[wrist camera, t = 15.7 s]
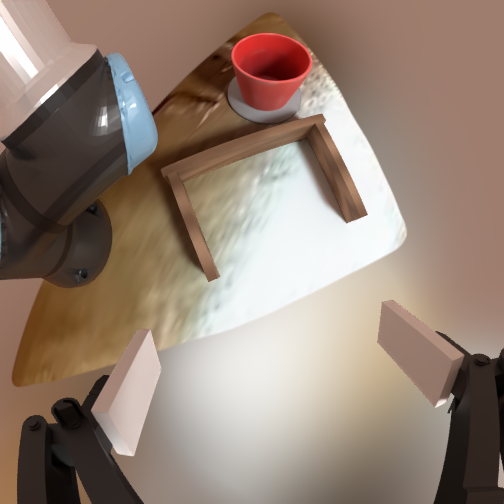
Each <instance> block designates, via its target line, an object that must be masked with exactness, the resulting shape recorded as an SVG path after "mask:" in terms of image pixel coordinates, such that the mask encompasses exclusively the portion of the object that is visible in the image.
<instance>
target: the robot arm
mask: <svg viewBox="0 0 504 504" xmlns="http://www.w3.org/2000/svg"><path fill="white" fill-rule="evenodd" d="M0 141H1V142H2V143H3V144H4V145H5V146H6V149H5V150H4V151H3V152H2V153H1V155H0V280H8V279H28V278H43V279H45V280H47V281H49V282H51V283H53V284H54V285H57V286H59V287H63V288H74V287H81V286H84V285H86V284H88V283H90V282H92V281H93V280H94V279H95V278H96V277H97V276H98V275H99V274H100V273H101V271H102V270H103V268H104V266H105V264H106V262H107V260H108V257H109V254H110V250H111V245H112V227H111V222H110V218H109V215H108V213H107V211H106V209H105V207H104V206H103V204H102V203H101V202H100V201H99V200H98V198H99V197H100V196H101V195H102V194H104V193H105V192H106V191H107V190H108V189H109V188H111V187H112V186H113V185H114V184H115V183H116V182H118V181H119V180H120V179H121V178H123V177H124V176H125V175H126V176H129V175H130V174H131V173H132V170H133V169H134V168H135V167H136V166H137V165H139V164H140V163H141V162H142V161H143V160H145V159H146V158H147V157H148V156H150V155H151V154H152V152H153V151H154V150H155V148H156V145H157V141H158V134H157V129H156V125H155V122H154V119H153V117H152V114H151V111H150V109H149V106H148V104H147V102H146V99H145V97H144V95H143V93H142V91H141V88H140V86H139V85H138V83H137V81H136V80H135V79H134V77H133V74H132V72H131V70H130V67H129V65H128V64H127V62H126V61H125V59H124V58H123V57H122V56H121V55H120V54H119V53H112V54H107V55H106V56H105V57H104V58H103V57H102V55H101V53H100V52H99V50H98V49H97V47H96V45H89V44H77V43H74V42H72V41H71V40H70V38H69V37H68V35H67V34H66V32H65V30H64V29H63V28H62V26H61V24H60V23H59V21H58V20H57V18H56V16H55V15H54V13H53V12H52V10H51V8H50V7H49V5H48V4H47V2H46V0H0ZM377 342H378V343H379V344H380V345H381V347H382V348H383V349H384V350H385V351H386V352H387V353H388V354H389V356H391V358H392V359H393V360H394V361H395V362H396V363H397V364H398V366H399V367H400V368H401V369H402V370H403V371H404V372H405V374H406V375H407V376H408V377H409V378H410V379H411V380H412V381H413V383H414V384H415V385H416V386H417V387H418V388H419V390H420V391H421V392H422V393H423V394H424V395H425V396H426V398H427V399H428V400H429V401H430V402H431V403H432V404H433V406H434V407H435V408H436V407H438V406H440V405H442V404H444V403H446V402H447V400H448V398H449V395H450V393H452V394H453V395H454V396H455V397H454V399H453V401H452V403H451V406H450V408H449V410H448V413H450V411H451V410H452V413H451V422H450V430H449V438H448V444H447V450H446V455H445V461H444V465H443V470H442V474H441V479H440V482H439V486H438V490H437V494H436V497H435V501H434V504H504V488H500V487H498V473H499V457H500V455H501V460H502V464H503V470H504V349H502V350H501V353H500V356H499V358H495V359H490V358H489V357H488V356H486V355H484V354H474V355H470V354H469V353H468V352H467V351H465V350H464V349H463V348H462V347H461V346H459V345H458V344H456V343H455V342H454V341H453V340H451V339H450V338H449V337H448V336H446V335H445V334H443V333H440V332H438V331H436V332H435V331H433V330H432V329H431V328H429V327H428V326H427V325H426V324H424V323H423V322H421V321H420V320H419V319H418V318H416V317H415V316H414V315H412V314H411V313H409V312H408V311H407V310H406V309H404V308H403V307H402V306H400V305H399V304H398V303H396V302H395V301H393V300H390V301H385V302H382V309H381V317H380V326H379V333H378V341H377ZM160 372H161V366H160V363H159V360H158V356H157V353H156V349H155V346H154V342H153V338H152V334H151V331H150V329H139V330H137V331H136V333H135V334H134V336H133V338H132V339H131V341H130V343H129V344H128V346H127V348H126V349H125V351H124V353H123V354H122V356H121V358H120V359H119V361H118V363H117V365H116V367H115V368H114V370H113V371H112V373H111V375H110V376H109V375H103V376H102V377H101V378H100V379H98V380H97V381H96V382H95V384H94V386H93V388H92V389H91V391H90V392H89V395H88V396H87V397H86V399H85V401H84V403H83V404H82V406H80V404H79V402H78V401H77V400H75V399H74V398H63V399H61V400H59V401H57V402H56V403H55V404H54V405H53V406H52V408H51V413H52V415H53V416H54V418H55V419H56V421H57V422H58V423H55V424H48V423H47V421H46V420H45V419H44V417H42V416H40V415H34V416H30V417H29V418H27V419H26V420H25V421H24V423H23V426H22V432H21V440H20V447H19V459H18V474H17V504H81V502H80V497H79V491H78V484H77V477H76V471H77V473H78V476H79V478H80V480H81V482H82V484H83V487H84V489H85V491H86V493H87V495H88V497H89V499H90V501H91V502H92V504H144V503H143V501H142V500H141V499H140V497H139V496H138V495H137V493H136V492H135V490H134V489H133V488H132V486H131V485H130V483H129V482H128V480H127V479H126V477H125V476H124V474H123V472H122V471H121V470H120V468H119V466H118V465H117V463H116V461H115V459H114V458H113V456H112V455H111V453H110V452H111V449H112V446H113V447H114V449H115V450H116V452H117V453H118V454H122V455H129V456H134V454H135V450H136V447H137V444H138V440H139V437H140V434H141V431H142V427H143V424H144V421H145V418H146V415H147V411H148V408H149V405H150V402H151V399H152V396H153V393H154V390H155V387H156V384H157V381H158V378H159V375H160ZM75 468H76V470H75Z"/></svg>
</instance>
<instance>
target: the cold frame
mask: <svg viewBox="0 0 504 504" xmlns="http://www.w3.org/2000/svg"><path fill="white" fill-rule="evenodd" d="M325 121H326V120H325V118H324V116H323V114H318V115H314V116H310V117H307V118H303V119H299V120H295V121H292V122H288V123H285V124H281V125H278V126H274V127H271V128H268V129H265V130H261V131H258V132H255V133H252V134H249V135H246V136H243V137H240V138H237V139H234V140H232V141H229V142H226V143H223V144H220V145H218V146H215V147H212V148H210V149H207V150H205V151H202V152H200V153H197V154H195V155H192V156H190V157H187V158H185V159H182V160H180V161H178V162H175V163H173V164H171V165H168V166H166V167H164V168H162V169H161V172H162V175H163V177H164V179H165V180H166V181H167V182H168V183H169V185H170V186H171V187H172V189H173V192H174V195H175V198H176V200H177V203H178V206H179V209H180V211H181V214H182V217H183V219H184V222H185V225H186V227H187V230H188V232H189V235H190V238H191V240H192V243H193V245H194V248H195V250H196V253H197V255H198V258H199V260H200V263H201V265H202V268H203V270H204V272H205V275H206V277H207V280H208V282H210V281H212V280H214V279H217V278H219V277H220V275H219V273H218V270H217V268H216V266H215V263H214V261H213V258H212V256H211V253H210V251H209V248H208V246H207V243H206V241H205V238H204V236H203V233H202V231H201V228H200V226H199V223H198V221H197V218H196V215H195V213H194V210H193V208H192V205H191V202H190V200H189V197H188V195H187V192H186V189H185V187H184V184H183V182H185V181H188V180H190V179H192V178H195V177H197V176H200V175H202V174H205V173H207V172H210V171H212V170H215V169H217V168H220V167H222V166H225V165H228V164H230V163H233V162H236V161H239V160H241V159H244V158H247V157H250V156H252V155H255V154H258V153H261V152H264V151H267V150H270V149H273V148H276V147H279V146H282V145H285V144H289V143H292V142H295V141H298V140H302V139H305V138H307V139H308V141H309V143H310V145H311V147H312V149H313V151H314V153H315V155H316V157H317V159H318V161H319V163H320V165H321V167H322V169H323V171H324V173H325V175H326V178H327V180H328V182H329V184H330V186H331V188H332V191H333V193H334V195H335V197H336V200H337V202H338V204H339V206H340V209H341V211H342V213H343V216H344V218H345V220H346V223H349V222H351V221H354V220H356V219H359V218H361V217H364V216H366V215H368V214H367V212H366V209H365V207H364V205H363V202H362V200H361V198H360V195H359V193H358V191H357V189H356V186H355V184H354V182H353V180H352V178H351V176H350V174H349V171H348V169H347V167H346V165H345V163H344V161H343V159H342V157H341V155H340V153H339V151H338V149H337V147H336V145H335V144H334V142H333V140H332V138H331V136H330V134H329V132H328V130H327V129H326V127H325V125H324V123H325Z"/></svg>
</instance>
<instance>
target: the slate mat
mask: <svg viewBox="0 0 504 504" xmlns="http://www.w3.org/2000/svg"><path fill="white" fill-rule="evenodd" d="M228 100H229V103H230V105H231V107H232V108H233V110H234V111H235V112H236V113H237V114H238V115H240V116H241V117H243V118H244V119H246V120H249V121H251V122H254V123H259V124H276V123H280V122H283V121H285V120H287V119H289V118H291V117H292V116H293V115H294V114H295V113H296V112H297V110H298V108H299V106H300V103H301V91H300V89H299V88H298V89H297V90H296V92H295V93H294V94H293V96H292V97H291V98H290V100H289V101H288V102H287V103H286V105H285V106H283V107H282V108H280V109H278V110H274V111H261V110H257V109H255V108H253V107H251V106H249V105H248V104H247V103H246V102H245V101H244V99H243V97H242V94H241V91H240V88H239V85H238V82H237V78H236V76H235V77H234V78H233V80H232V81H231V83H230V84H229V87H228Z"/></svg>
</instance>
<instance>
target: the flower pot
mask: <svg viewBox="0 0 504 504" xmlns="http://www.w3.org/2000/svg"><path fill="white" fill-rule="evenodd" d="M231 60H232V64H233V68H234V71H235V75H236V78H237V82H238V85H239V88H240V91H241V94H242V97H243V99H244V101H245V102H246V103H247V104H248V105H249V106H251V107H253V108H255V109H257V110H261V111H274V110H278V109H280V108H282V107H283V106H285V105H286V103H287V102H288V101H289V100H290V98H291V97H292V96H293V94H294V93H295V92H296V90H297V89H298V88H299V86H300V85H301V84H302V82H303V81H304V79H305V78H306V76H307V75H308V73H309V72H310V70H311V67H312V58H311V55H310V53H309V52H308V50H307V49H306V48H305V47H304V46H303V45H302V44H300V43H299V42H297V41H296V40H294V39H292V38H289V37H287V36H283V35H279V34H272V33H261V34H255V35H251V36H248V37H246V38H244V39H242V40H240V41H239V42H238V43H237V44H236V45H235V46H234V47H233V49H232V52H231Z"/></svg>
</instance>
